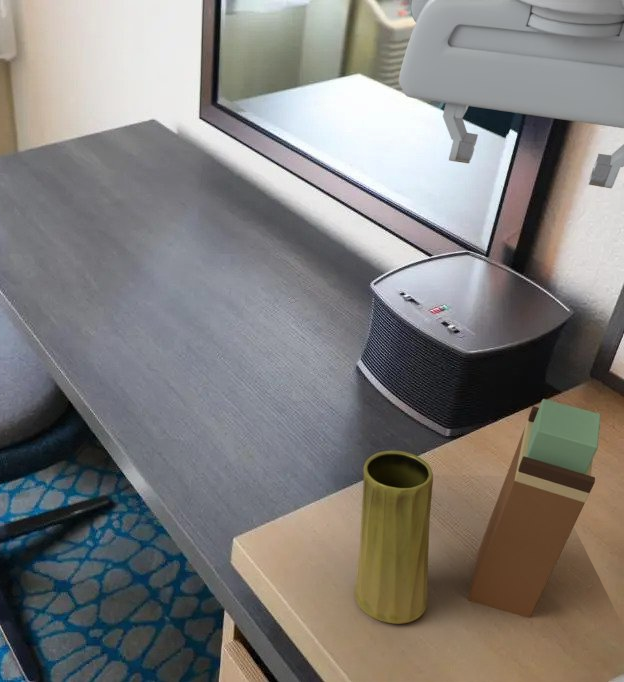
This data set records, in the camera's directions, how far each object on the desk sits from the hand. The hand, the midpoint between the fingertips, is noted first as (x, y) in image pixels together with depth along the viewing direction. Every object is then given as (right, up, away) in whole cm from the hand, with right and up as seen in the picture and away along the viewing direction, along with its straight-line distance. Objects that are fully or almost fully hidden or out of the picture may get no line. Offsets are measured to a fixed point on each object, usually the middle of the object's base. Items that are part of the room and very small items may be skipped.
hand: (527, 171), depth 57 cm
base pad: (+5, -35, +13) cm, 37 cm away
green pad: (+4, -21, +3) cm, 22 cm away
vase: (-6, -35, +12) cm, 38 cm away
